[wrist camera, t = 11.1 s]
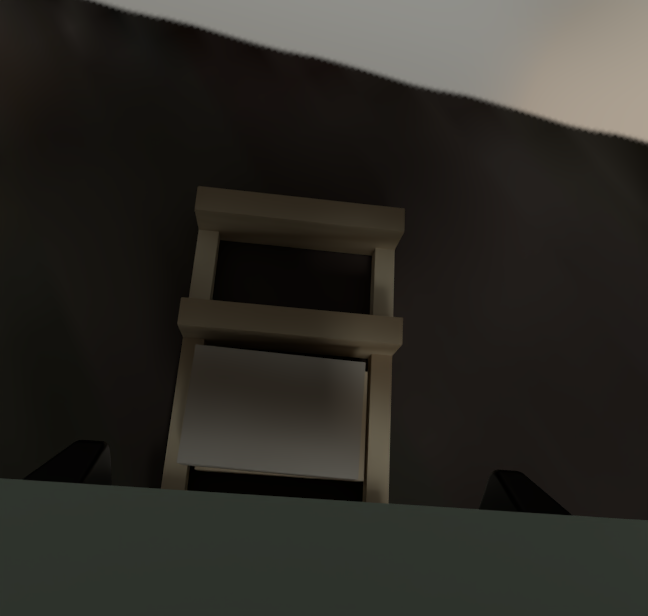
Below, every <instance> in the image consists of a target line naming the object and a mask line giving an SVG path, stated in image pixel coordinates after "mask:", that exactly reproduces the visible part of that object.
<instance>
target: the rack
mask: <svg viewBox="0 0 648 616" xmlns="http://www.w3.org/2000/svg"><path fill="white" fill-rule="evenodd" d="M195 214H196V219H197V223H198V228H199V232H198V238H197V245H196V252H195V259H194V266H193V273H192V279H191V286H190V293H189V298H185V297H181V302H180V309H179V315H178V322H177V325H178V327H179V329H180V332H181V334H182V336H183V341H182V348H181V354H180V361H179V368H178V375H177V382H176V389H175V395H174V402H173V409H172V416H171V423H170V430H169V436H168V443H167V450H166V457H165V464H164V471H163V477H162V484H161V489H171V490H186V491H187V486H188V479H189V471H190V466H187V465H181V464H179V463H177V457H178V451H179V445H180V438H181V432H182V426H183V420H184V414H185V407H186V401H187V395H188V389H189V383H190V376H191V370H192V364H193V358H194V352H195V345H196V344H198V345H217V346H228V347H239V348H251V349H262V350H274V351H285V352H297V353H308V354H320V355H331V356H342V357H354V358H365V359H368V371H367V372H368V376H367V403H366V430H365V457H364V481H363V501H362V502H371V503H386V504H388V499H389V459H390V418H391V378H392V355H393V354H394V353H395V352H396V351H397V350H398V349H399V347H400V346H401V345H402V335H403V318H398V317H393V297H394V256H395V248H396V246H397V245H398V243H399V241H400V239H401V237H402V235H403V233H404V229H405V209H404V208H395V207H386V206H377V205H368V204H359V203H350V202H340V201H331V200H322V199H313V198H304V197H295V196H286V195H276V194H267V193H258V192H249V191H240V190H231V189H222V188H212V187H203V186H198V189H197V196H196V203H195ZM220 240H224V241H233V242H243V243H253V244H263V245H273V246H282V247H292V248H302V249H312V250H322V251H331V252H341V253H351V254H361V255H370V256H372V268H371V294H370V315H366V314H356V313H345V312H334V311H324V310H313V309H302V308H292V307H281V306H270V305H260V304H249V303H238V302H228V301H217V300H212V297H213V290H214V282H215V275H216V267H217V260H218V252H219V244H220Z"/></svg>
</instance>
